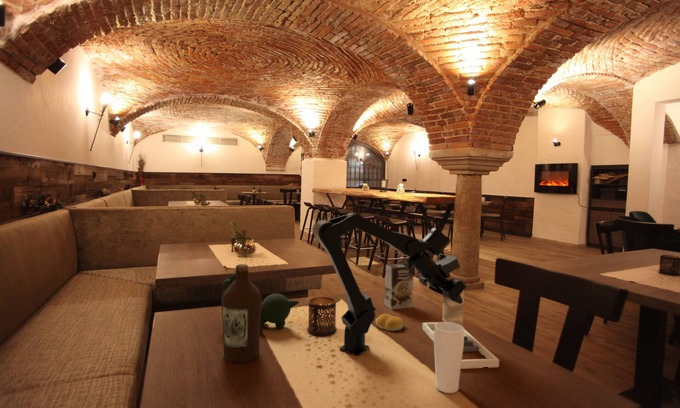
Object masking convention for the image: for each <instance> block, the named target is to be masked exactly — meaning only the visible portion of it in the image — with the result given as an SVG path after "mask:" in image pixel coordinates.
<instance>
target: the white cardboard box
mask: <svg viewBox="0 0 680 408" xmlns="http://www.w3.org/2000/svg"><path fill="white" fill-rule="evenodd" d="M414 269H415V268H414V266H412V267H411V268H410V269H409V268H407V267H405V266H404V263H396V264H395V263H394V264H392V263H391V264H390V263H389V264H386V265H385V284H384V301H383V302H384V306H386V307H387V308H389V309H390V310H399V309H411V308H413V289H414V287H413V286H414Z"/></svg>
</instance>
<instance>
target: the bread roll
mask: <svg viewBox="0 0 680 408" xmlns="http://www.w3.org/2000/svg"><path fill="white" fill-rule="evenodd" d="M375 325H376V326H377V327H378V328H379V329H383V330H385V331H388V332H391V331H392V332H394V331H395V332H396V331H400V330H401V329H403V326H404V322H403V320H402V319H401V318H400V317H399V316H393V315H392V314H389V313H382V314H380V315H379V316H378V317H377V318H376V319H375Z"/></svg>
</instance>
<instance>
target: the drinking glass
mask: <svg viewBox="0 0 680 408" xmlns="http://www.w3.org/2000/svg"><path fill="white" fill-rule="evenodd" d="M464 329H465V328H464V326H462V324H456V323H452V322H445V321H439V323H437V324H435V330H434V341H433V349H434V350H433V353H434V354H433V355H434V370H435V371H434V372H435V373H434V374H435V377H434V378H435V382H434V383H435V384H434V385H435V388H436V389H437V390H438V391H440V392H441V393H444V394H454V393H456V392H458V390H459V389H460V387H459V386H460V383H459V382H460V376H461V375H460V374H461V370H462V369H461V361H462V360H463V353H464V352H463V346H464Z"/></svg>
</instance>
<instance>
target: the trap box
mask: <svg viewBox="0 0 680 408" xmlns="http://www.w3.org/2000/svg"><path fill="white" fill-rule="evenodd" d="M439 322H440V321H439ZM439 322H422V330H423V331H424V333H426V335H427V336H428V337H429V338H430V339H431V340H432V342H434V330H435V324H437V323H439ZM464 352H466V353H467V352H479V354H481V355H482V356H483V355H484V356H485V357H484V356H483V357H484V358H476V359H475V358H474V359H472V358H471V359H462V361H461V369H460V370H463V369H481V368H482V369H484V368H483V367H488V368H500V359H499V358H498V357H496V355H494V354H493V352H491V351H490V350H489V349H488V348H487V347H485V346H484V345H483V344H482V343H481V342H479V341H478V340H477V339H476V338H475V337H474V336H473V335H471V334H470V333H469V332H468V330H466V329H465V328H464V346H463V353H464Z"/></svg>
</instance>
